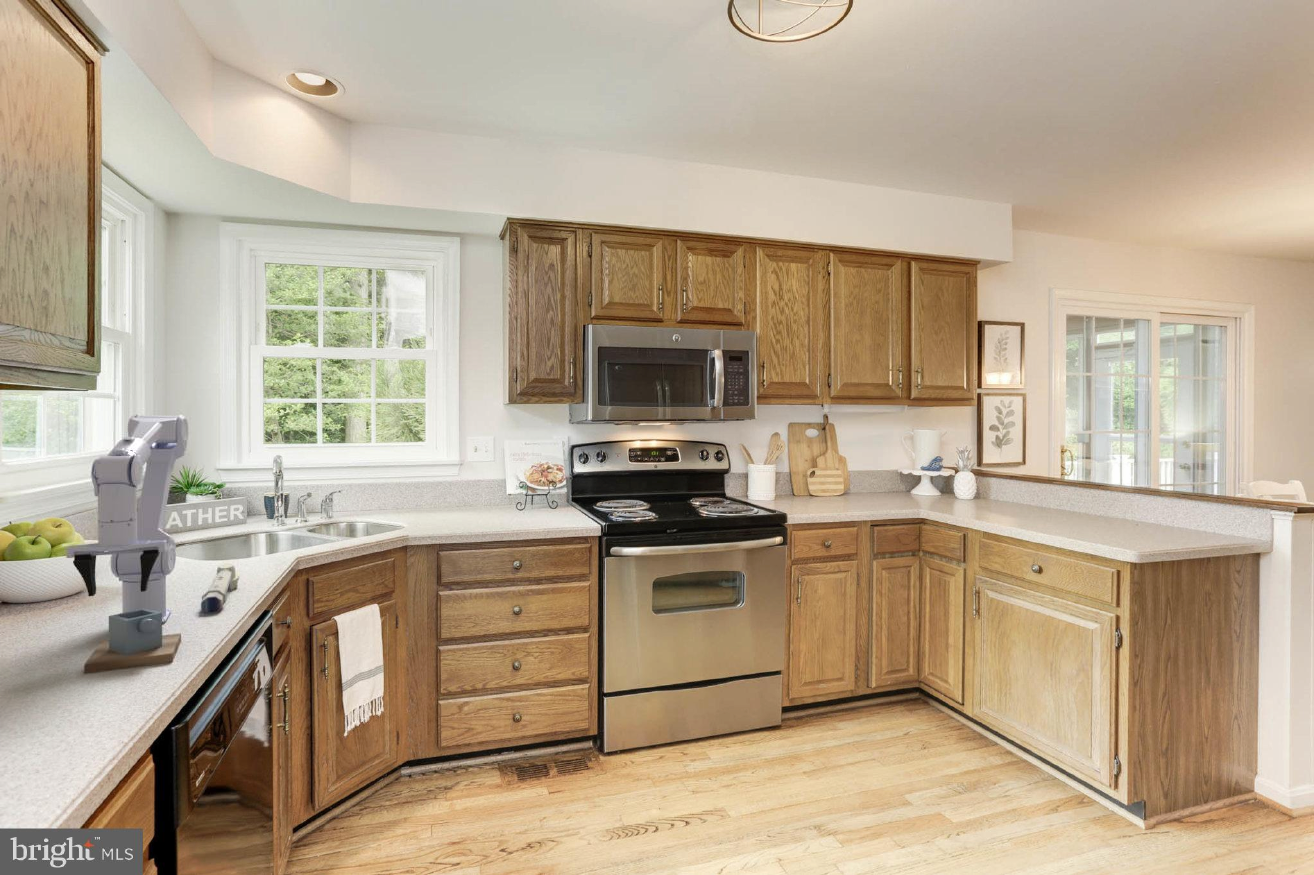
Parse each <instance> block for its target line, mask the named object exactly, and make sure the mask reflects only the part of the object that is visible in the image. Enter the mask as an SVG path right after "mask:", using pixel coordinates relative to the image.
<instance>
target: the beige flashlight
mask: <svg viewBox="0 0 1314 875" xmlns="http://www.w3.org/2000/svg"><path fill="white" fill-rule="evenodd" d="M239 579H240V575H239V574H238V573H237V572H236V567H235V565H234V564H233V563H231V562H225V563H221V564H219V565H218V567H217V569H216V575H215V576H213V579H212V582H211V585H210V586H209V587H208V590H206V592H204V594H203V595H202V596H201V602H200V610H201V611H202V612H204V613H205V614H211V613H217V612H219V611H220V610H221V609H222V607H223V605H225V604H226V603H227V602H226V601H227V600H226V596H227V593H228V591H233V590H234V589H237V588H238V587H239V585H238V583H239Z"/></svg>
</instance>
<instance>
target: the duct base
mask: <svg viewBox="0 0 1314 875" xmlns="http://www.w3.org/2000/svg"><path fill="white" fill-rule="evenodd" d="M181 642H182V633H173V634H165V635H164V634H162V646H160V647H156V648H152V649H149V650H145V651H141V652H138V653H134V654H130V655H124V654H120V653H117V652H114V651H111V650H109V641H105V642H99V644H98V645H97V647H96V648H95V649H94V651H93V652H92V653H91V655H90V656H89V657H88V659H87V660H86V661H85V662H84V665H83V666H84V667H83V669H84V670H83V671H84V674H90V673H97V672H104V671H105V672H106V671H112V670H113V671H114V670H121V669H128V668H137V667H143V666H151V665H158V664H159V665H160V664H167V663H173V661H174V659H175V657H176V654H177V652H178V649H179V647H180V645H181V644H182V643H181Z"/></svg>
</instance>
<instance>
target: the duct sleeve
mask: <svg viewBox="0 0 1314 875" xmlns="http://www.w3.org/2000/svg"><path fill="white" fill-rule="evenodd" d="M162 635H163V623H162V612H158V611H154V610H150V609H146V608H143V609H138V610H134V611H129V612H125V613H122V612H120V613H116V614H112V615H109V616H108V642H109V650H111V651H114V652H117V653H120V654H124V655H130V654H134V653H138V652H141V651H145V650H149V649H152V648H156V647H160V646H162Z"/></svg>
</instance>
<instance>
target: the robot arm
mask: <svg viewBox="0 0 1314 875" xmlns="http://www.w3.org/2000/svg"><path fill="white" fill-rule="evenodd" d="M127 435H128V436H124V437H123V438H122V439H121V440H120V441H118V442H117V443H116V445H114V447H113V448H112V449H111V450H110V452H109V453H108V454H107V455H101V456H99V458H96V459H94V460H93V462H92V466H91V471H90V476H91V483H92V484H93V490H94V491H93V493H94V496H95V497H97V542H95V543H88V544H86V543H85V544H78V545H68V546H67V547H66V548H65V550H66V551H65V553H66V554H65V556H66V558H67V559H71V558H72V559H73V561H72V564H73V566H74V567H75V569H76V570H77V571H78V573H79V574H80V576H81V578H82V580H83V583H84V585H85V587H86V589H87V595H88V597H94V596H95V595H96V594H97V584H96V583H97V581H96V565H97V564H96V562H97V556H109V555H111V557H110V570H111V573H112V575H114V576H115V577H116V578H118V581H119V582H122V583H121V586H122V587H121V589H122V592H121V593H122V594H121V595H122V596H121V599H122V601H121V602H122V604H121V605H122V610H121V613H125V612H129V611H134V610H138V609H143V608H146V609H150V610H154V611H158V612H162V624H163V623H166V622H167V621H168V619H169V616H170V615H171V612H172V608H167V579H166V578H167V576H168V575H171V573H172V572H173V571H174V569H175V567H176V566H175V565H176V560H177V558H176V557H177V555H176V554H177V553H176V549H177V544H176V542H175V539H174V537H173V536H171V535H170V534H168V533H166V532H165V531H163V527H164V522H165V516H166V511H167V504H168V498H169V494H170V493H169V492H170V488H171V480H172V475H173V471H174V467H175V463H176V461H177V460H179V459H180V458H182V457H184V456H185V451H186V450H187V446H188V439H189V422H188V419H187V418H186V417H185V415H183V414H178V415H160V414H159V415H153V414H152V415H149V414H148V415H146V414H145V415H143V414H142V415H141V414H133V415H132V416H131V417H130V418H129V420H128V423H127ZM145 464H146V467H145V470H144V465H145ZM144 471H145V472H144ZM143 473H144V477H143V476H142V475H143ZM142 477H143V481H142ZM141 481H142V486H141V493H140V498H139V503H138V498H137V497H138V493H137V492H138V490H137V489H138V486H139V485H140V484H141Z"/></svg>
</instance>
